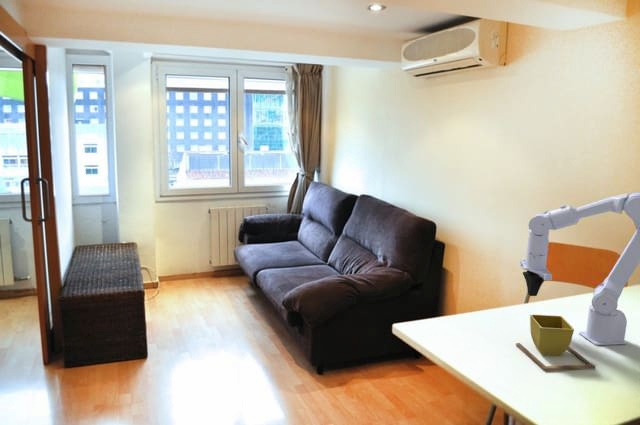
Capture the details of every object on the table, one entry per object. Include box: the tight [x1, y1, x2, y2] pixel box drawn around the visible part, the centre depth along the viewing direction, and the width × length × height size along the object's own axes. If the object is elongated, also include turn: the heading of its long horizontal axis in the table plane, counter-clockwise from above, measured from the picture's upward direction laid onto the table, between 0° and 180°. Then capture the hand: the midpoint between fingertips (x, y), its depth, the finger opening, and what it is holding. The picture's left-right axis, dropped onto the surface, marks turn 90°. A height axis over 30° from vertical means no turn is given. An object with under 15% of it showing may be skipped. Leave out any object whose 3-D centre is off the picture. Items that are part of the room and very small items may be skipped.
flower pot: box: [529, 314, 575, 357], centre depth 132 cm, size 9×9×9 cm
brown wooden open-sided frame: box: [515, 342, 596, 372], centre depth 130 cm, size 14×14×1 cm
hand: (532, 295), depth 150 cm, fingers closed
